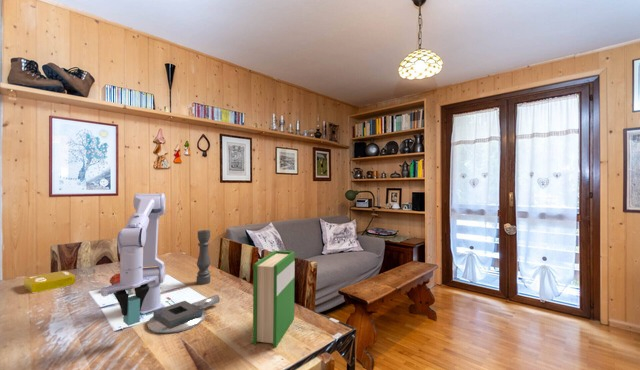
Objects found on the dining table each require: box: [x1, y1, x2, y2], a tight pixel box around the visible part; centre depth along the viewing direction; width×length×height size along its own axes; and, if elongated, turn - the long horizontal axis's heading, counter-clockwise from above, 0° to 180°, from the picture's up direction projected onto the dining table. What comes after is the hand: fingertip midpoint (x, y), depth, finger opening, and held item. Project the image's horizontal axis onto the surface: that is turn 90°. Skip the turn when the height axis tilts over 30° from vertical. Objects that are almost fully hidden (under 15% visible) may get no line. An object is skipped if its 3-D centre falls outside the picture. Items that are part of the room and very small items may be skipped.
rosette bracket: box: [147, 294, 221, 335], centre depth 100 cm, size 18×24×4 cm
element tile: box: [23, 270, 76, 293], centre depth 130 cm, size 15×15×5 cm
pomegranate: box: [109, 272, 120, 285], centre depth 126 cm, size 7×7×10 cm
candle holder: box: [196, 229, 211, 286], centre depth 135 cm, size 6×6×25 cm
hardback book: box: [252, 250, 296, 348], centre depth 91 cm, size 18×7×24 cm, turn 168°
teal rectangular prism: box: [122, 294, 141, 326], centre depth 84 cm, size 4×3×7 cm
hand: (131, 312), depth 84 cm, fingers closed on teal rectangular prism, 3 cm apart
